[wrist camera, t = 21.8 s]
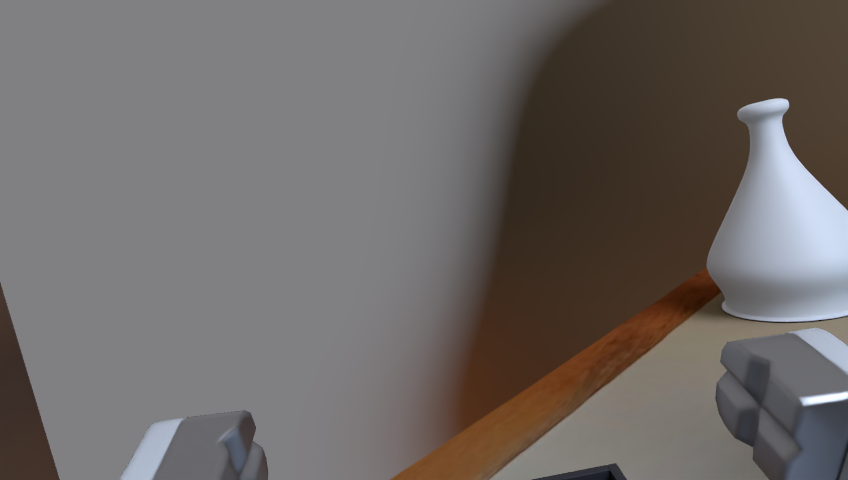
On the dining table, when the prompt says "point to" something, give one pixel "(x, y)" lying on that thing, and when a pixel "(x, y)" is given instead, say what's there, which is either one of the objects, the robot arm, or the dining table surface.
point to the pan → (591, 474)
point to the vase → (780, 234)
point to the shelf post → (19, 413)
